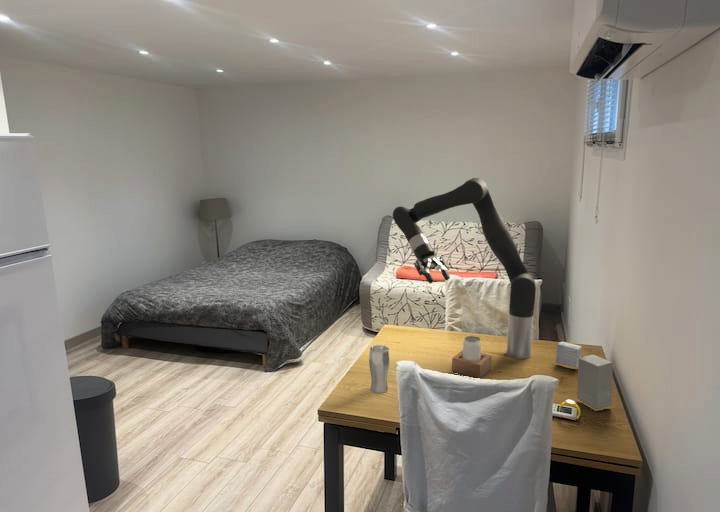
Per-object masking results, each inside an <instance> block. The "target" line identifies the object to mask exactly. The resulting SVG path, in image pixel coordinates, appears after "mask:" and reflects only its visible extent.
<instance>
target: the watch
mask: <svg viewBox="0 0 720 512" xmlns="http://www.w3.org/2000/svg"><path fill="white" fill-rule="evenodd" d="M564 405H568V406H571V407H575V408H576V409H577V411H578V414H577V416H576V417H577V420H578V419H579V418H580V417H581V408H580V406H579V405H578V404H577V403H576V400H573V399H569V398H568V399H566V400H565V401H563V402H561V403H560V404H559V407H558V413H559V412H560V410H562V407H563V406H564Z"/></svg>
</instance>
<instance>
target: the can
mask: <svg viewBox="0 0 720 512" xmlns="http://www.w3.org/2000/svg"><path fill="white" fill-rule="evenodd" d="M462 350H463V359H466V360H470V361H474V362H479V361H480V359H481V353H482V342H481V338H480V337H479V336H474V335H469V336H465V337H464V340H463V342H462Z"/></svg>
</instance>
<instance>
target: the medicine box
mask: <svg viewBox="0 0 720 512" xmlns="http://www.w3.org/2000/svg"><path fill="white" fill-rule="evenodd" d="M582 350H583V346H581V345H579V344H574V343H570V342H566V341H560V342H558V344H556V354H555V356H556V358H555V364H556V363H558V364H563V365H568V366H572V367H578V363H579V358H580V357H582V353H583V352H582Z"/></svg>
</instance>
